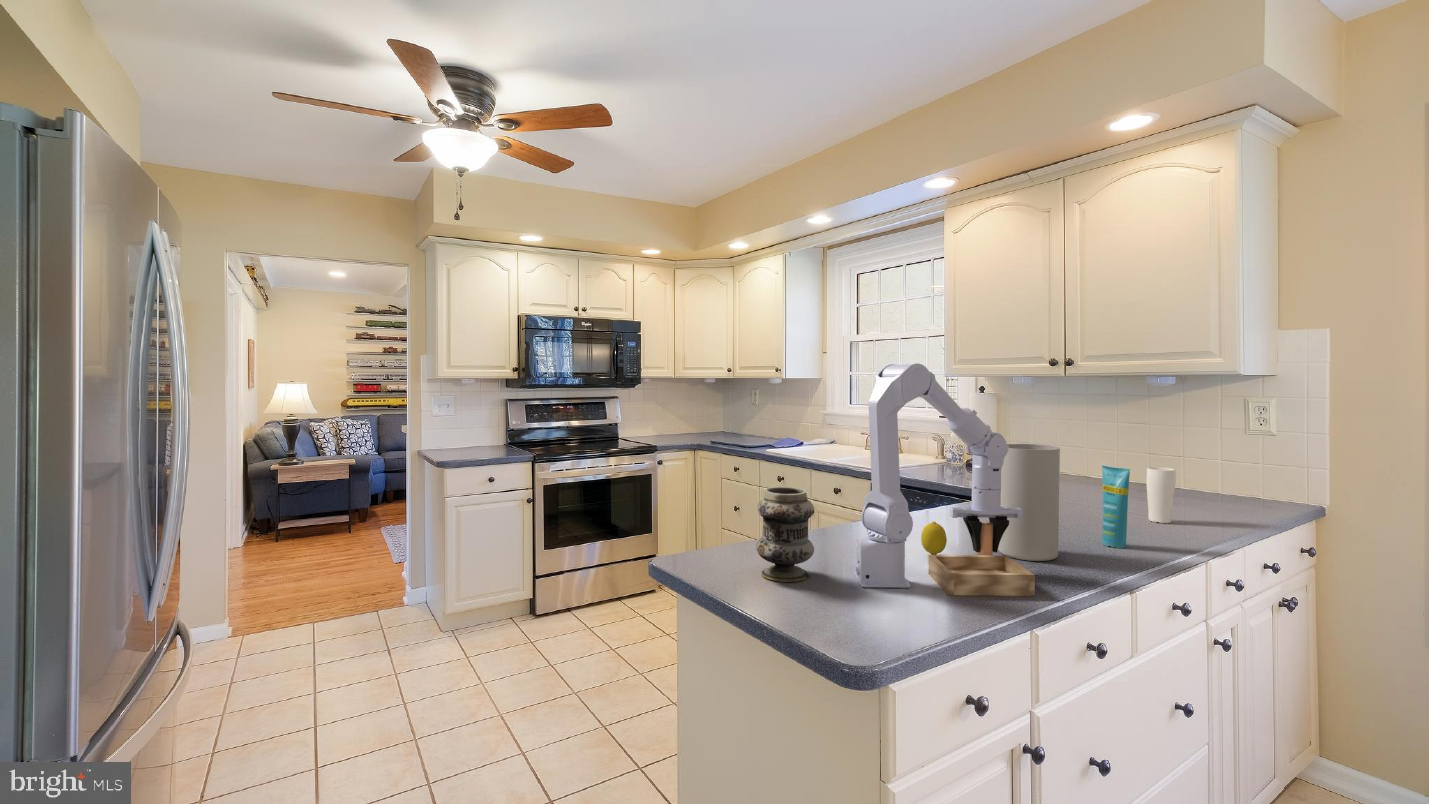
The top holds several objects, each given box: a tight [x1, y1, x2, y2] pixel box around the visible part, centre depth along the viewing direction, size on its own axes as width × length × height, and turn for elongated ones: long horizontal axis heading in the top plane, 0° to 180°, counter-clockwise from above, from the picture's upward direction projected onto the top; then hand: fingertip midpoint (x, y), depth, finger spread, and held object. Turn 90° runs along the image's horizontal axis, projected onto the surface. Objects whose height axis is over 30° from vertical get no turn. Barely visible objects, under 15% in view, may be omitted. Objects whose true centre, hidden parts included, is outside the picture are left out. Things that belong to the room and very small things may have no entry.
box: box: [928, 554, 1036, 597], centre depth 128 cm, size 16×13×4 cm
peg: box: [976, 521, 994, 555], centre depth 138 cm, size 3×3×8 cm
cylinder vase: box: [998, 443, 1061, 562], centre depth 149 cm, size 12×12×25 cm
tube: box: [1101, 464, 1131, 549], centre depth 156 cm, size 7×5×19 cm, turn 23°
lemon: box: [920, 521, 948, 555], centre depth 148 cm, size 6×6×8 cm
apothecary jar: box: [755, 486, 815, 583], centre depth 135 cm, size 12×12×18 cm
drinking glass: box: [1145, 466, 1177, 524], centre depth 181 cm, size 7×7×15 cm
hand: (985, 551), depth 138 cm, fingers closed on peg, 3 cm apart
